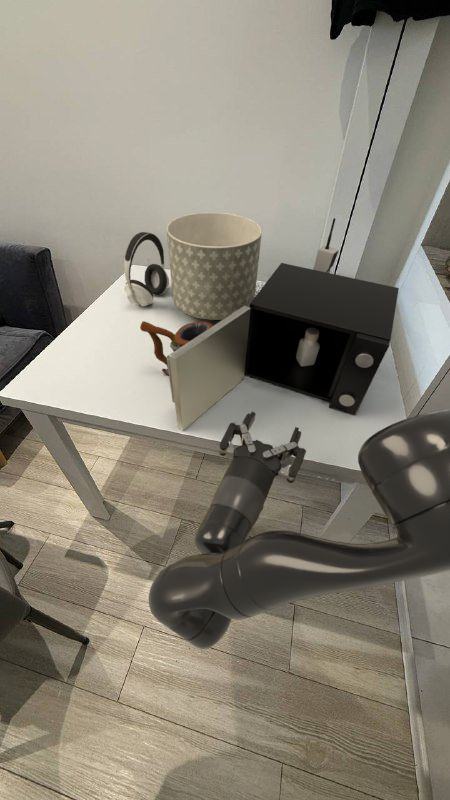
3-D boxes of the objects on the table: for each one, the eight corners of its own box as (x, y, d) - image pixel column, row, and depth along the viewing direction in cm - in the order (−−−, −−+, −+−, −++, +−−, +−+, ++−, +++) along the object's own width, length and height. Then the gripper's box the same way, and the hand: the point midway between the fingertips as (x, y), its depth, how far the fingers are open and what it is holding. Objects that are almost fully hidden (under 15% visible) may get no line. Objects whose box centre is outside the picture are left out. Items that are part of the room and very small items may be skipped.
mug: (140, 386, 78) (129, 334, 67) (157, 356, 86) (149, 306, 75) (213, 399, 76) (214, 347, 65) (224, 367, 84) (225, 316, 73)
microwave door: (165, 418, 71) (153, 345, 57) (226, 369, 83) (230, 298, 69) (182, 431, 69) (175, 358, 55) (243, 378, 81) (250, 308, 67)
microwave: (354, 418, 73) (389, 346, 59) (239, 381, 81) (245, 309, 66) (368, 356, 89) (398, 287, 74) (270, 330, 96) (281, 262, 82)
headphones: (145, 316, 99) (133, 249, 84) (122, 310, 101) (106, 243, 87) (175, 288, 111) (170, 225, 97) (154, 283, 113) (146, 220, 99)
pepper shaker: (300, 367, 83) (308, 336, 76) (294, 357, 86) (302, 327, 79) (315, 365, 84) (324, 335, 77) (308, 356, 87) (317, 325, 80)
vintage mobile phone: (319, 305, 107) (342, 222, 88) (306, 300, 109) (325, 218, 90) (324, 300, 109) (347, 219, 91) (311, 295, 111) (331, 214, 93)
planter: (227, 341, 91) (230, 256, 74) (157, 314, 100) (146, 231, 83) (266, 303, 106) (277, 224, 89) (203, 282, 115) (202, 206, 98)
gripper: (289, 499, 46) (316, 421, 57) (200, 463, 50) (241, 396, 61) (281, 522, 52) (307, 447, 62) (201, 487, 56) (238, 422, 66)
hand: (274, 422), depth 62 cm, fingers open, 8 cm apart
